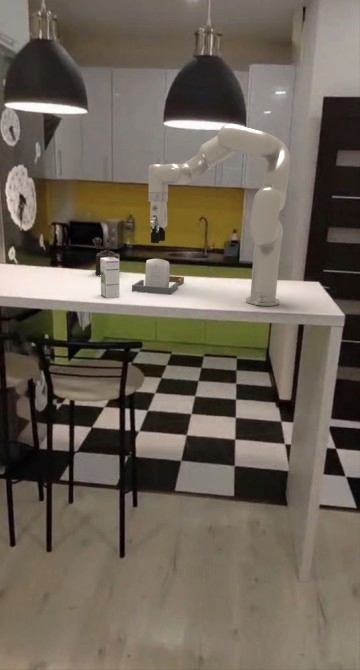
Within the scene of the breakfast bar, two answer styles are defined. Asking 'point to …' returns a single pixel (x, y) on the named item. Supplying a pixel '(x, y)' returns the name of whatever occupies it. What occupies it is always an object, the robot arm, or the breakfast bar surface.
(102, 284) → the syrup box
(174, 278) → the dock
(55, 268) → the breakfast bar surface
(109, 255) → the twin bell alarm clock
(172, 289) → the bay
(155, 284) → the photo printer
